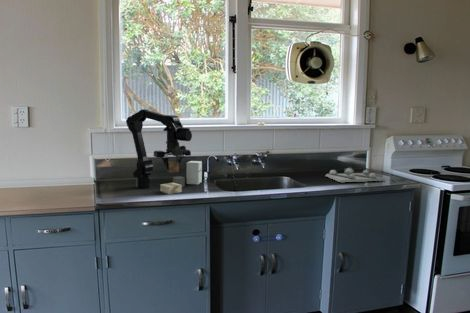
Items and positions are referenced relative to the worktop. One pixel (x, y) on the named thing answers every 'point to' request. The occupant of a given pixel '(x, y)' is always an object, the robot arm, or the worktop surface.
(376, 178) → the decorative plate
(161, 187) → the birch block
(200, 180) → the supplement box
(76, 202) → the worktop surface
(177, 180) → the gray cube
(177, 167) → the walnut cube
